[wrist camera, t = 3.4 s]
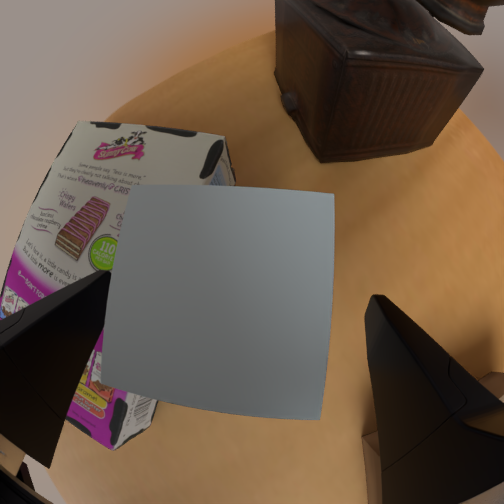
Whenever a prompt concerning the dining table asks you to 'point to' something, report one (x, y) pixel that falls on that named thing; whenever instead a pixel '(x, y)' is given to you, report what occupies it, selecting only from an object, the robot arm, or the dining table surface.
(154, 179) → the candy bar box
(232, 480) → the dining table surface
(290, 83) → the manual coffee grinder
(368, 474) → the walnut block
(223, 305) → the grey-blue block
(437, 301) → the dining table surface
